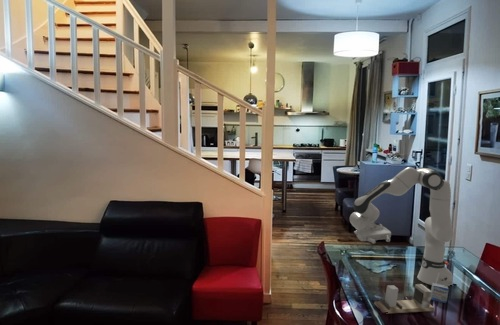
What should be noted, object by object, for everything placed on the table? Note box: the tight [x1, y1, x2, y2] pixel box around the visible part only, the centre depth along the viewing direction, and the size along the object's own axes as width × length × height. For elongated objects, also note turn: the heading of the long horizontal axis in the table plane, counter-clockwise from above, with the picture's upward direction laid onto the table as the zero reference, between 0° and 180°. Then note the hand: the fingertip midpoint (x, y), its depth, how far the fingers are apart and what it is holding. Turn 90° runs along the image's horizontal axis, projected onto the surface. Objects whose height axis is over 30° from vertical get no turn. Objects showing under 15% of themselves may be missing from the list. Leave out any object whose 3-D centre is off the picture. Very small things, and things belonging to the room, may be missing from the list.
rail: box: [373, 283, 435, 314], centre depth 191 cm, size 30×8×11 cm, turn 103°
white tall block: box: [384, 284, 399, 307], centre depth 189 cm, size 4×4×10 cm
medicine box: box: [430, 283, 450, 304], centre depth 203 cm, size 8×4×9 cm, turn 69°
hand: (381, 241), depth 205 cm, fingers open, 8 cm apart
